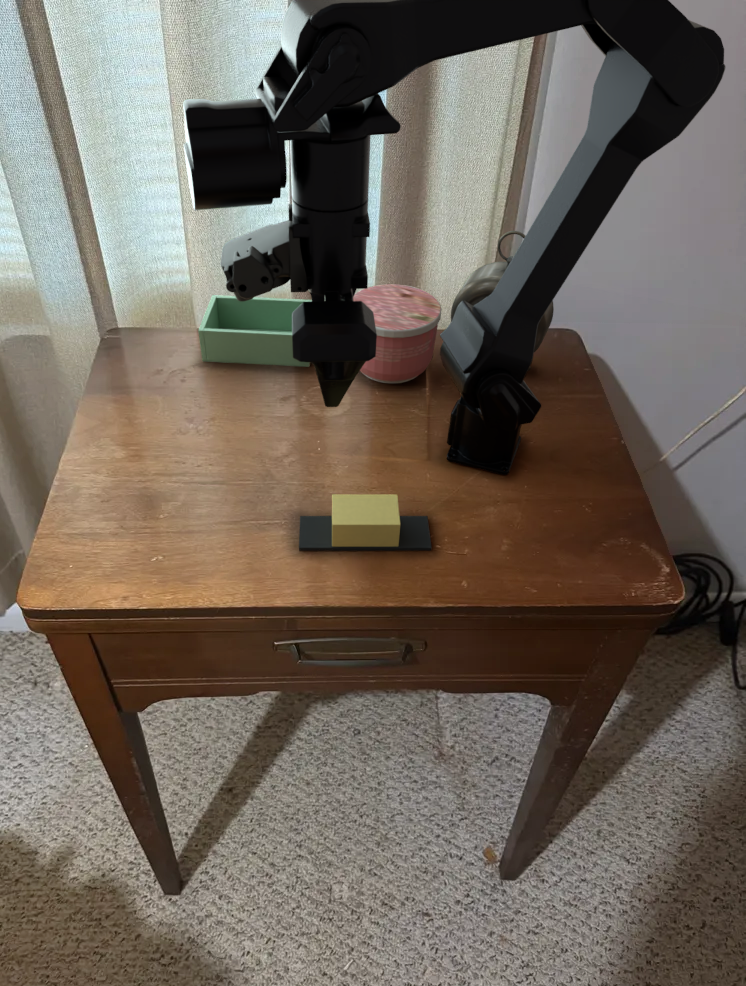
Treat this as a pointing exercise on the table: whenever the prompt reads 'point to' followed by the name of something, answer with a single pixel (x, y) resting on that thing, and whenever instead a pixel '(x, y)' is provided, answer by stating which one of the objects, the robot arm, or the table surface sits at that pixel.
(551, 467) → the table surface
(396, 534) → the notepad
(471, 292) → the alarm clock
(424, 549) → the desk mat
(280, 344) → the storage box
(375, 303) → the container
